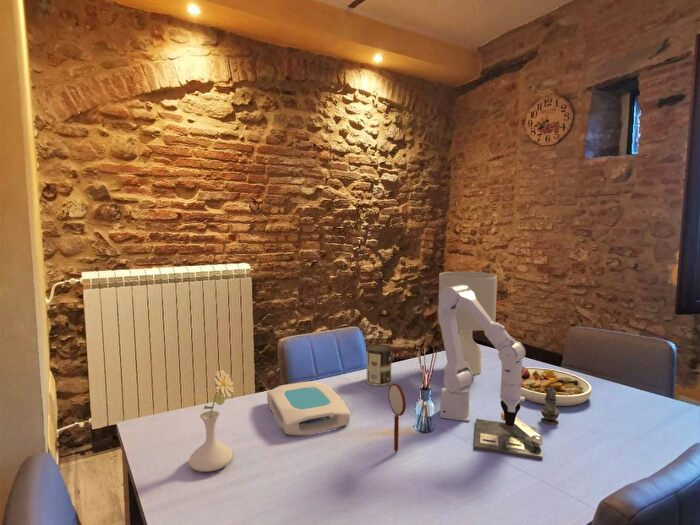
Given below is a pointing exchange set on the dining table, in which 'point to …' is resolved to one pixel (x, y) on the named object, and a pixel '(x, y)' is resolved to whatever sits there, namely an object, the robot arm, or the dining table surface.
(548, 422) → the grey tall carved piece
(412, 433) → the dining table surface
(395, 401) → the magnifying glass
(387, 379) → the coffee can
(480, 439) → the label panel
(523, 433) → the swing arm
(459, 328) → the lamp
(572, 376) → the bowl
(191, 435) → the dining table surface
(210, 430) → the flower in vase
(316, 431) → the document scanner
